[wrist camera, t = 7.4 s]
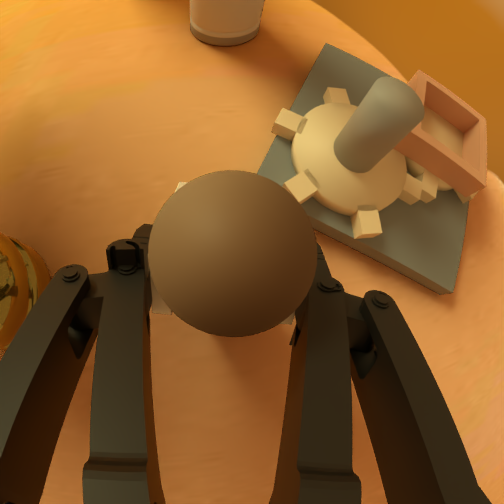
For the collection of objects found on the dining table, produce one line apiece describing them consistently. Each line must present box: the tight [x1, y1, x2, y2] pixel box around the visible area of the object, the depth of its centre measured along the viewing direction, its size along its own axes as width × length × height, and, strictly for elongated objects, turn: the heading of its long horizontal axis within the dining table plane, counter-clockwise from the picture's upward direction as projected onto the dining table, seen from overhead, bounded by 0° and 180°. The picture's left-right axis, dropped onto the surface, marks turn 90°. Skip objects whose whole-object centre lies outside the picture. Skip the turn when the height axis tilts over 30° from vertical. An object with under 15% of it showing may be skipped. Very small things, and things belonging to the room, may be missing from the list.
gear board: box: [257, 43, 487, 295], centre depth 18 cm, size 16×16×9 cm
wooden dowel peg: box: [148, 170, 317, 337], centre depth 13 cm, size 4×4×12 cm
